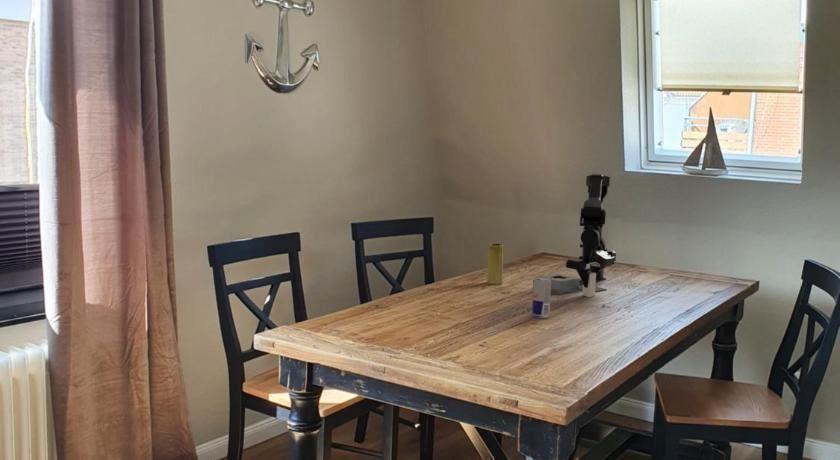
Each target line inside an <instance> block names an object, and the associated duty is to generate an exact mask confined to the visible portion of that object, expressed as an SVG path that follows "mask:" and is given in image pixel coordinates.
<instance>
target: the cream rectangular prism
mask: <svg viewBox="0 0 840 460" xmlns="http://www.w3.org/2000/svg"><path fill="white" fill-rule="evenodd" d="M596 283H597V281H596V273H594V272H590V273H589V280H588V287H587V288H585V287H584V285H583V284H582V286H583V291H582V296H584V297H588V298H591V297H595V296H596V292H595V287H597V286H596Z"/></svg>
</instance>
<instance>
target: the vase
mask: <svg viewBox="0 0 840 460" xmlns="http://www.w3.org/2000/svg"><path fill="white" fill-rule="evenodd" d="M487 253H488V255H487V273H486V274H487V275H486V276H487V279H486V284H488V285H493V286H498V285H503V284H504V244H503V243H499V242H498V243H496V242H495V243H489V244H488V252H487Z"/></svg>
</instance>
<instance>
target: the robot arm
mask: <svg viewBox="0 0 840 460" xmlns="http://www.w3.org/2000/svg"><path fill="white" fill-rule="evenodd" d="M585 187H586V188H587V194H588V199H587V200H586V201H584V203H583V207H581V210H580V216H579V217H580V218H579V226H580V227H582V230H583V231H582V233H581V235H580V241H581V243H580V244H579V248H581V249H582V250H581V251H582V253H581V255H579V257H578V258H569V259H566V261H565V268H567V269H572V270H576V272H577V274H578V276H579V278H580V280H581V283H582V286H583V285H584V287H585V288H587V287H588V280H589V273H590V272H594V273H596V282H599V281H606V280H607V277H604V273H605V272H604V270H605V269H606V267H611V266H614V265H615V261H616V260H617V259H616V258H617V252H616V251H614V250H608V248H606V247H607V246H606V244H607V243H606V241H605V239H604V238H603V228H604V225H605V224H606V219H607V218H606V216H607V213H606V210H605V208H604V199H605V197H606V196H607V194H608V192H609V189H610V188H611V177H610V176H609V175H608V174H601V173H592V174H589V175H586V178H585Z"/></svg>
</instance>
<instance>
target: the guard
mask: <svg viewBox="0 0 840 460" xmlns="http://www.w3.org/2000/svg"><path fill="white" fill-rule="evenodd" d="M539 277H547V278H550V280H551V293H553V294H556V295H563V294H569V293H574V292H579V291H580V290H579V287H580V280H581V278H580V277H575V276H571V275H566V274H562V273H553V274H547V275H542V276H539ZM556 278H560V279H556Z"/></svg>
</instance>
